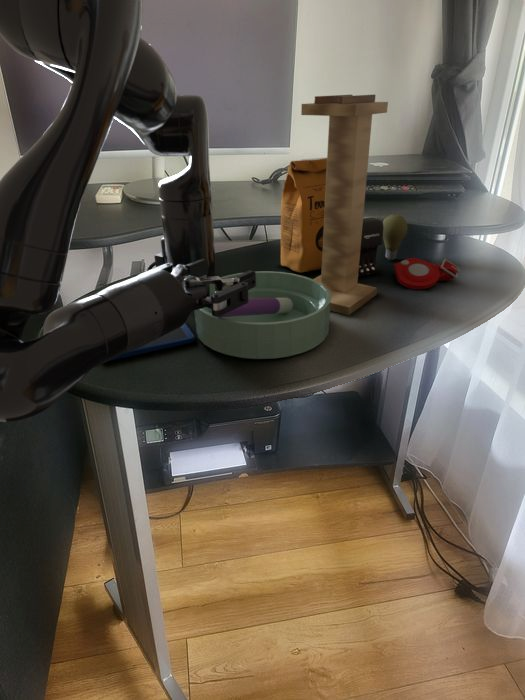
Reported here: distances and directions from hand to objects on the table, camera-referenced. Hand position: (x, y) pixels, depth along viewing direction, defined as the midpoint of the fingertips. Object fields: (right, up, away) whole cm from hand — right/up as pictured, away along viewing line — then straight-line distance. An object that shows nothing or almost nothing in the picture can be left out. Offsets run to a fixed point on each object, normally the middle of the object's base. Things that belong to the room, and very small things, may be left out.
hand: (229, 271), depth 66 cm
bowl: (+5, -7, +11) cm, 14 cm away
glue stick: (+3, -5, +8) cm, 10 cm away
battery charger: (+25, +5, +33) cm, 42 cm away
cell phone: (-13, -10, +8) cm, 18 cm away
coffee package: (+15, +7, +37) cm, 41 cm away
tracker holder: (+37, +2, +29) cm, 47 cm away
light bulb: (+33, +9, +41) cm, 53 cm away
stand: (+18, -1, +22) cm, 29 cm away
